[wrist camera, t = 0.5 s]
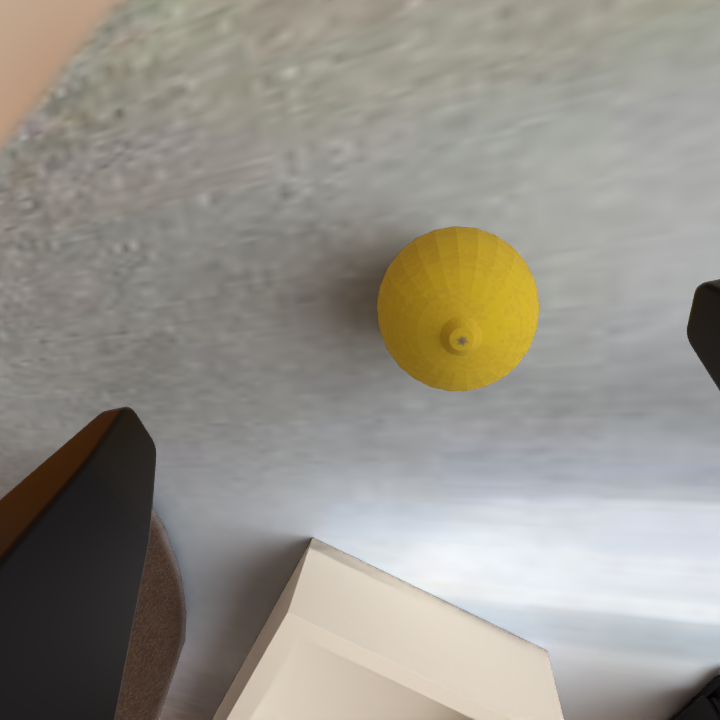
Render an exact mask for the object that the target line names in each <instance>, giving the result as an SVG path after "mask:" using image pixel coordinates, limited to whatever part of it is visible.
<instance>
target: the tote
mask: <svg viewBox="0 0 720 720" xmlns="http://www.w3.org/2000/svg"><path fill="white" fill-rule="evenodd" d="M212 720H564V718H563V714H562V710H561V706H560V702H559V697H558V693H557V689H556V685H555V681H554V677H553V673H552V669H551V665H550V661H549V657H548V653H547V651H546V650H544V649H542V648H540V647H538V646H536V645H534V644H532V643H530V642H528V641H526V640H524V639H521V638H519V637H517V636H515V635H513V634H511V633H509V632H507V631H505V630H503V629H501V628H499V627H497V626H495V625H493V624H490V623H488V622H486V621H484V620H482V619H480V618H478V617H476V616H474V615H472V614H470V613H468V612H466V611H464V610H461V609H459V608H457V607H455V606H453V605H451V604H449V603H447V602H445V601H443V600H441V599H439V598H437V597H435V596H433V595H430V594H428V593H426V592H424V591H422V590H420V589H418V588H416V587H414V586H412V585H410V584H408V583H406V582H404V581H402V580H399V579H397V578H395V577H393V576H391V575H389V574H387V573H385V572H383V571H381V570H379V569H377V568H375V567H373V566H370V565H368V564H366V563H364V562H362V561H360V560H358V559H356V558H354V557H352V556H350V555H348V554H346V553H344V552H342V551H339V550H337V549H335V548H333V547H331V546H329V545H327V544H325V543H323V542H321V541H319V540H317V539H315V538H312V540H311V541H310V543H309V545H308V547H307V549H306V550H305V552H304V554H303V556H302V558H301V559H300V561H299V563H298V565H297V567H296V569H295V570H294V572H293V574H292V576H291V578H290V579H289V581H288V583H287V585H286V587H285V588H284V590H283V592H282V594H281V596H280V597H279V599H278V601H277V603H276V605H275V607H274V608H273V610H272V612H271V614H270V616H269V617H268V619H267V621H266V623H265V625H264V626H263V628H262V630H261V632H260V634H259V635H258V637H257V639H256V641H255V643H254V644H253V646H252V648H251V650H250V652H249V654H248V655H247V657H246V659H245V661H244V663H243V664H242V666H241V668H240V670H239V672H238V673H237V675H236V677H235V679H234V681H233V682H232V684H231V686H230V688H229V690H228V692H227V693H226V695H225V697H224V699H223V701H222V702H221V704H220V706H219V708H218V710H217V711H216V713H215V715H214V717H213V719H212Z"/></svg>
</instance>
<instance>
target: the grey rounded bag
mask: <svg viewBox="0 0 720 720" xmlns="http://www.w3.org/2000/svg"><path fill="white" fill-rule="evenodd" d="M185 632H186V605H185V599H184V593H183V586H182V580H181V574H180V568H179V566H178V563H177V560H176V557H175V554H174V552H173V549H172V546H171V543H170V540H169V538H168V535H167V532H166V529H165V527H164V525H163V524H162V522H161V520H160V519H159V517H158V515H157V514H156V512H155V511H154V509H153V507H152V518H151V529H150V538H149V544H148V550H147V556H146V561H145V566H144V571H143V577H142V582H141V587H140V592H139V597H138V602H137V608H136V613H135V618H134V623H133V628H132V633H131V638H130V644H129V649H128V654H127V659H126V664H125V669H124V674H123V680H122V685H121V690H120V695H119V700H118V705H117V711H116V716H115V720H158V719H159V717H160V714H161V711H162V708H163V705H164V702H165V699H166V696H167V693H168V690H169V687H170V684H171V681H172V678H173V675H174V672H175V669H176V666H177V663H178V660H179V657H180V654H181V651H182V648H183V645H184V642H185Z"/></svg>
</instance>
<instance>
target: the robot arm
mask: <svg viewBox="0 0 720 720" xmlns="http://www.w3.org/2000/svg"><path fill="white" fill-rule="evenodd" d="M687 336H688V339H689V342H690V344H691V346H692V348H693V349H694V351H695V352H696V354H697V355H698V357H699V359H700V360H701V362H702V363H703V365H704V367H705V368H706V370H707V371H708V373H709V375H710V376H711V378H712V379H713V381H714V382H715V384H716V386H717V387H718V389H719V390H720V279H718V280H714V281H709V282H705V283H702V284H701V285H699V286H698V287H697V289H696V291H695V294H694V298H693V303H692V307H691V312H690V316H689V321H688V326H687ZM155 466H156V448H155V444H154V442H153V440H152V438H151V437H150V435H149V433H148V432H147V430H146V429H145V427H144V425H143V424H142V422H141V421H140V419H139V418H138V416H137V414H136V413H135V412H134V410H132V409H131V408H129V407H122V408H117V409H112V410H108V411H104V412H102V413H101V414H99V415H98V416H97V417H96V418H95V419H94V420H92V421H91V422H90V423H89V424H88V425H87V426H86V427H84V428H83V429H82V430H81V431H80V432H79V433H77V434H76V435H75V436H74V437H73V438H72V439H70V440H69V441H68V442H67V443H66V444H65V445H63V446H62V447H61V448H60V449H59V450H58V451H57V452H55V453H54V454H53V455H52V456H51V457H50V458H48V459H47V460H46V461H45V462H44V463H43V464H41V465H40V466H39V467H38V468H37V469H36V470H35V471H33V472H32V473H31V474H30V475H29V476H28V477H26V478H25V479H24V480H23V481H22V482H21V483H19V484H18V485H17V486H16V487H15V488H14V489H12V490H11V491H10V492H9V493H8V494H7V495H6V496H4V497H3V498H2V499H1V500H0V720H115V716H116V711H117V705H118V700H119V695H120V690H121V685H122V680H123V674H124V669H125V664H126V659H127V654H128V649H129V644H130V638H131V633H132V628H133V623H134V618H135V613H136V608H137V602H138V597H139V592H140V587H141V582H142V577H143V571H144V566H145V561H146V556H147V550H148V544H149V538H150V529H151V518H152V505H153V492H154V479H155ZM671 720H720V674H719V675H718V676H717V677H716V678H715V679H714V680H713V681H712V682H711V683H710V684H709V685H708V686H706V687H705V688H704V689H703V690H702V691H701V692H700V693H699V694H698V695H697V696H696V697H695V698H694V699H692V700H691V701H690V702H689V703H688V704H687V705H686V706H685V707H684V708H683V709H682V710H681V711H680V712H678V713H677V714H676V715H675V716H674V717H673V718H672V719H671Z"/></svg>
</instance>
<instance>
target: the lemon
mask: <svg viewBox="0 0 720 720" xmlns="http://www.w3.org/2000/svg"><path fill="white" fill-rule="evenodd" d="M377 313H378V322H379V329H380V332H381V335H382V337H383V340H384V342H385V345H386V348H387V350H388V351H389V353H390V354H391V355H392V357H393V358H394V359H395V361H396V362H397V364H398V365H399V366H400V367H401V368H402V369H403V370H405V371H406V372H407V373H408V374H409V375H411V376H412V377H413V378H414V379H416V380H418V381H420V382H422V383H424V384H426V385H428V386H430V387H433V388H438V389H442V390H447V391H469V390H473V389H477V388H481V387H485V386H487V385H489V384H491V383H493V382H495V381H497V380H499V379H501V378H503V377H504V376H505V375H507V374H508V373H509V372H510V371H511V370H512V369H514V368H515V367H516V366H517V365H518V364H519V362H520V361H521V359H522V358H523V357H524V355H525V354H526V352H527V351H528V350H529V348H530V345H531V343H532V340H533V338H534V335H535V333H536V330H537V324H538V315H539V301H538V294H537V288H536V283H535V281H534V279H533V276H532V274H531V272H530V270H529V268H528V265H527V264H526V262H525V261H524V260H523V259H522V258H521V256H520V255H519V254H518V253H517V252H516V250H515V249H514V248H513V247H512V246H510V245H509V244H507V243H506V242H504V241H503V240H502V239H500V238H499V237H497V236H496V235H494V234H491V233H488V232H485V231H482V230H479V229H477V228H469V227H449V228H444V229H438V230H434V231H432V232H429V233H427V234H425V235H423V236H421V237H418V238H416V239H415V240H414V241H412V242H411V243H410V244H409V245H407V246H406V247H405V248H404V249H402V250H401V251H400V252H399V254H398V255H397V256H396V258H395V259H394V260H393V262H392V263H391V264H390V266H389V267H388V269H387V271H386V273H385V276H384V278H383V281H382V283H381V285H380V289H379V296H378V303H377Z"/></svg>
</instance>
